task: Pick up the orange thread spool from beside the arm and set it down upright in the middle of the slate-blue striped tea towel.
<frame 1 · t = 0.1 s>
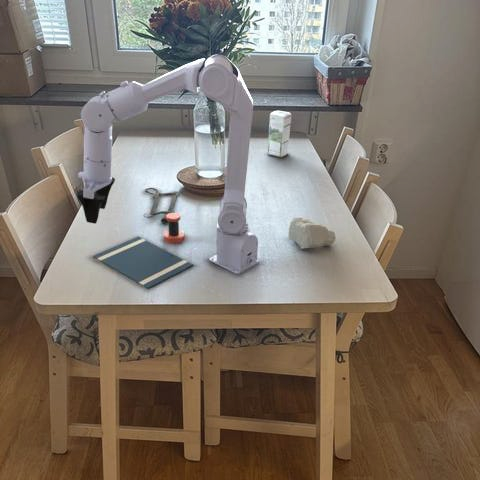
hand: (96, 214, 116), 11 cm above the table, tool pointing down, fingers open, 7 cm apart
hacksaw: (156, 206, 146), on the table
tea towel: (142, 261, 121), on the table
syrup box: (277, 154, 185), on the table
orange thread spool: (174, 238, 130), on the table
decorative stone: (311, 244, 131), on the table
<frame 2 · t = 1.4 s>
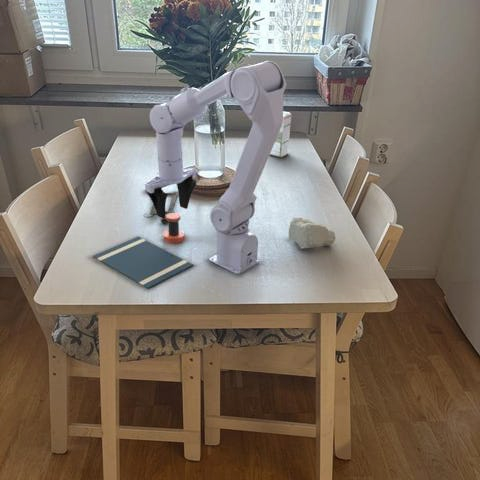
hand: (172, 212, 126), 7 cm above the table, tool pointing down, fingers open, 7 cm apart
nothing on the table moved.
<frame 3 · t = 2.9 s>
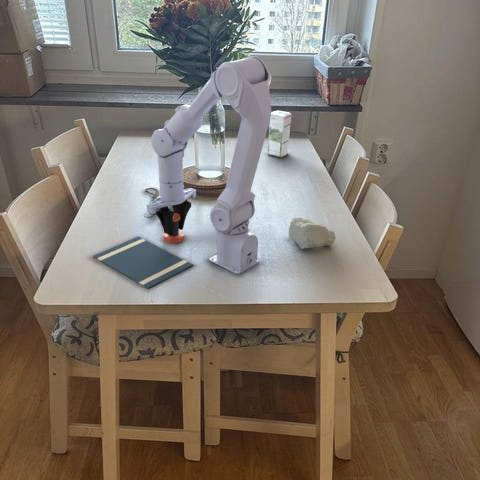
hand: (173, 231, 129), 2 cm above the table, tool pointing down, fingers closed on orange thread spool, 3 cm apart
orange thread spool: (174, 238, 130), on the table, touching gripper
everything else where it was.
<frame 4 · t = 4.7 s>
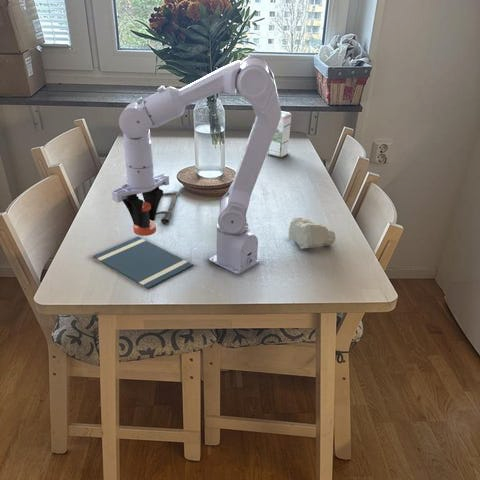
hand: (144, 222, 116), 9 cm above the table, tool pointing down, fingers closed on orange thread spool, 3 cm apart
orange thread spool: (145, 230, 118), point 7 cm above the table, touching gripper
everything else where it was.
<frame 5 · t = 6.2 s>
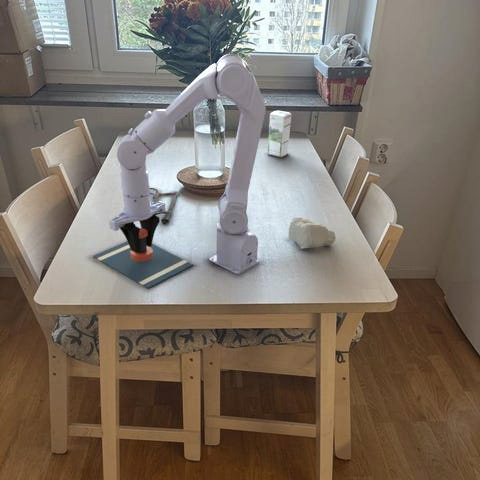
hand: (141, 247, 118), 4 cm above the table, tool pointing down, fingers closed on orange thread spool, 3 cm apart
orange thread spool: (141, 256, 120), point 1 cm above the table, touching gripper
everything else where it was.
when the fingers open (2 cm above the table, at t = 6.9 s): orange thread spool stays where it is, resting on tea towel.
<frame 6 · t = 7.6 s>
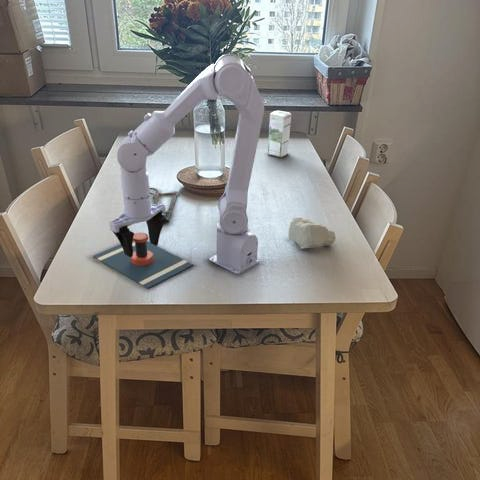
hand: (141, 249, 119), 3 cm above the table, tool pointing down, fingers open, 7 cm apart
orange thread spool: (142, 260, 120), resting on tea towel
everything else where it was.
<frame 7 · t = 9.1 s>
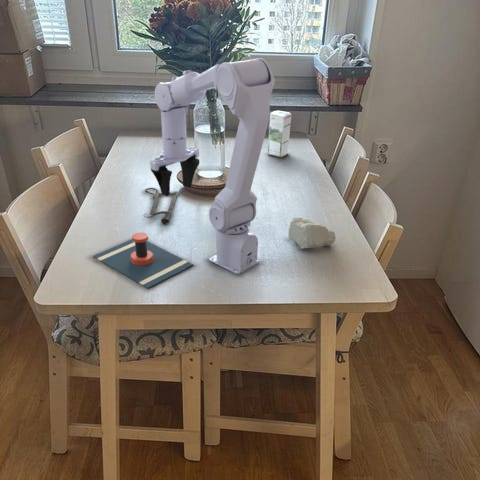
hand: (176, 190, 129), 10 cm above the table, tool pointing down, fingers open, 7 cm apart
nothing on the table moved.
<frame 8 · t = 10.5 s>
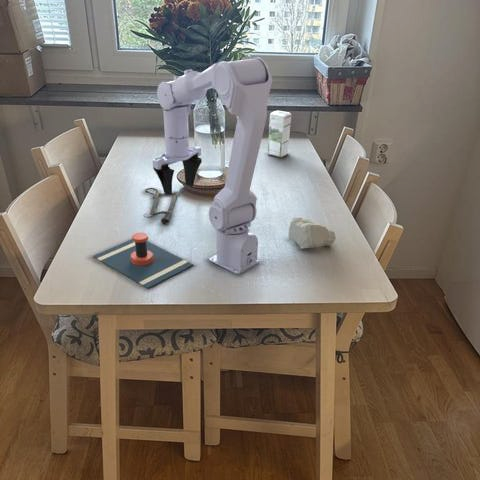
hand: (178, 189, 130), 10 cm above the table, tool pointing down, fingers open, 7 cm apart
nothing on the table moved.
at the end: orange thread spool inside the target area on the tea towel (0.1 cm from its centre), point 0.3 cm above the tea towel's base; orange thread spool tilted 0°; the gripper is holding nothing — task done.
